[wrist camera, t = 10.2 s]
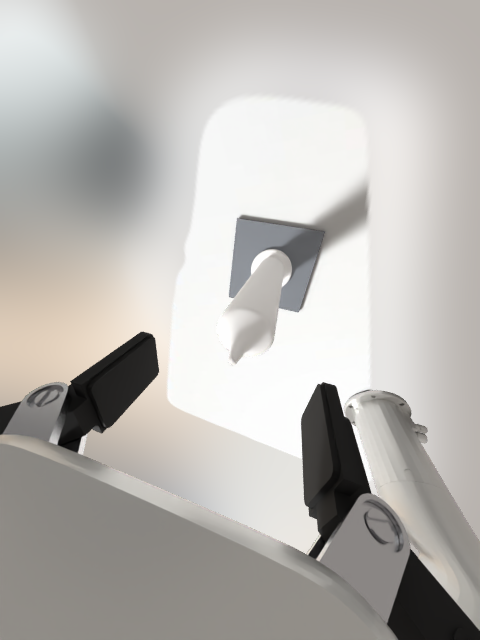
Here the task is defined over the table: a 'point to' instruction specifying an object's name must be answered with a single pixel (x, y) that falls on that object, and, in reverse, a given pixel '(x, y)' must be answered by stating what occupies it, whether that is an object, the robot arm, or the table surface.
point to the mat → (287, 239)
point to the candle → (255, 307)
